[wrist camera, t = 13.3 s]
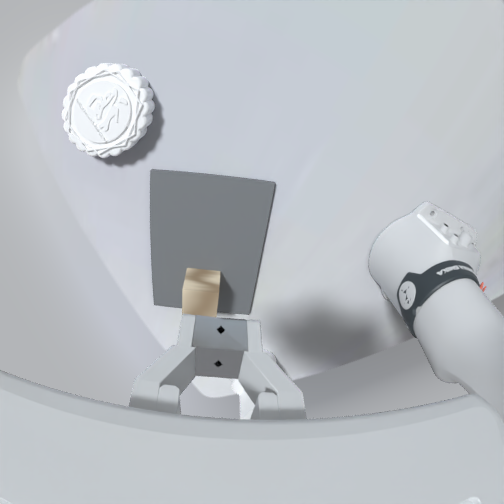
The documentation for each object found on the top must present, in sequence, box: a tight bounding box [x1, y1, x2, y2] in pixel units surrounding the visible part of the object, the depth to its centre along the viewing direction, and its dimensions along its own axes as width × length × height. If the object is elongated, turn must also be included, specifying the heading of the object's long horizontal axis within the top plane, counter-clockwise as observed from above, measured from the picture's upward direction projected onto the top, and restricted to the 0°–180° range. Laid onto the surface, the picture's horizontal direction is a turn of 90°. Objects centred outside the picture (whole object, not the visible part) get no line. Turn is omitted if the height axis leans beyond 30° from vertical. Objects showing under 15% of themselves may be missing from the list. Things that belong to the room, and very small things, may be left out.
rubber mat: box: [150, 169, 275, 315], centre depth 44 cm, size 16×23×1 cm
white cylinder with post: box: [232, 349, 277, 419], centre depth 54 cm, size 9×9×12 cm
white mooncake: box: [62, 63, 155, 158], centre depth 31 cm, size 12×12×4 cm
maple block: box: [182, 268, 220, 317], centre depth 45 cm, size 5×5×5 cm
